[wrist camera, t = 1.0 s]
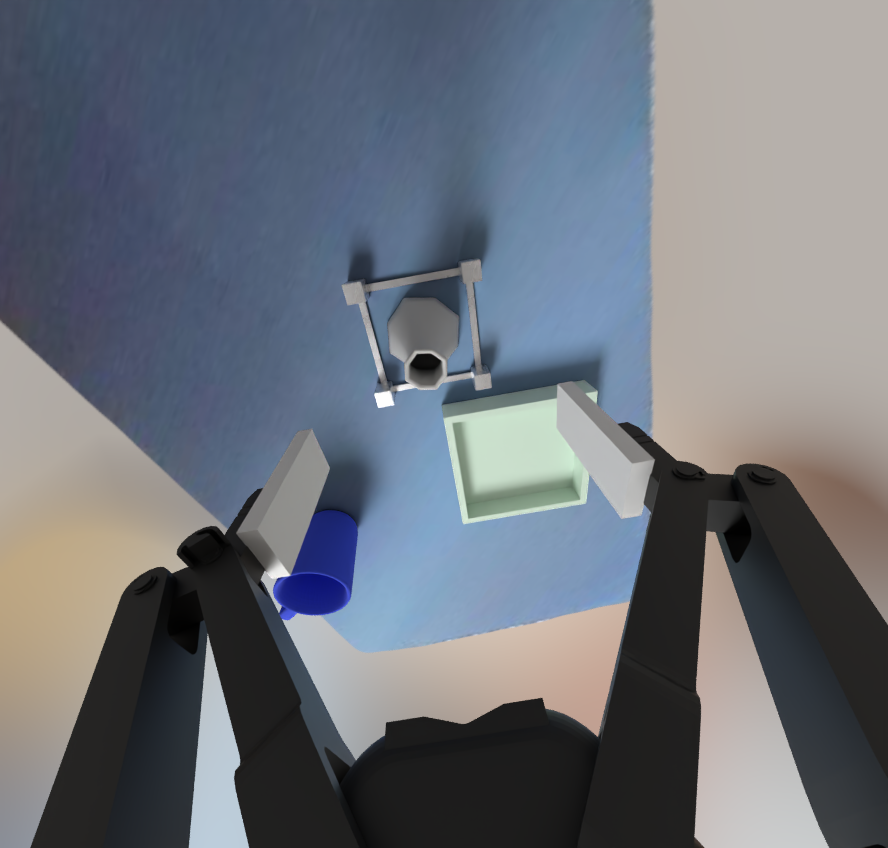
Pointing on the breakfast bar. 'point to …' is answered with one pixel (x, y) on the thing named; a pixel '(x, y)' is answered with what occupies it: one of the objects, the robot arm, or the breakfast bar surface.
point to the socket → (360, 290)
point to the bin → (513, 455)
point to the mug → (321, 568)
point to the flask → (423, 340)
